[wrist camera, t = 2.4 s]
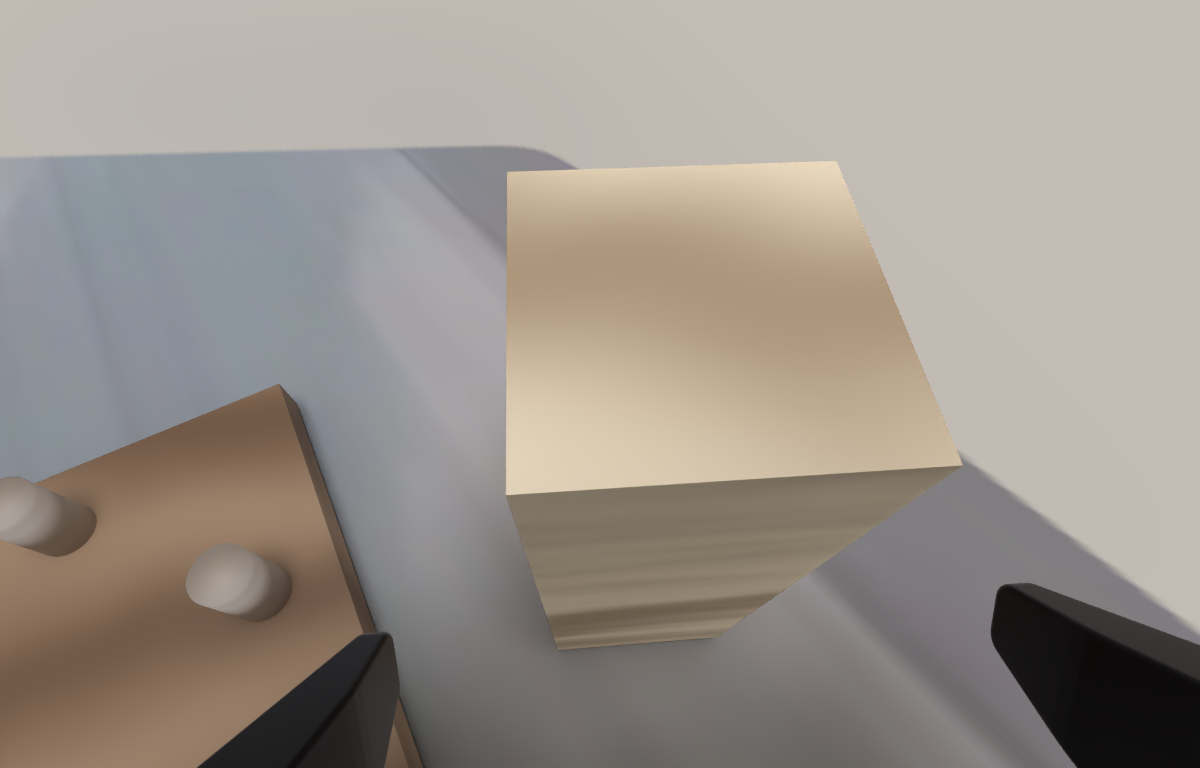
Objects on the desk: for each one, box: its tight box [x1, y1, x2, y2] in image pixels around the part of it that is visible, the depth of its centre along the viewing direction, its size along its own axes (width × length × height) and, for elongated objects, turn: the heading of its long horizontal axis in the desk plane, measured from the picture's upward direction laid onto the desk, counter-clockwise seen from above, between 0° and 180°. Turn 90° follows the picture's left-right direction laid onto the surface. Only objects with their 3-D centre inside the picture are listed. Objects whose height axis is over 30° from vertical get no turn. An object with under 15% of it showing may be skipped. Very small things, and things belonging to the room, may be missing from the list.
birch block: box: [506, 161, 963, 650], centre depth 14 cm, size 5×5×14 cm
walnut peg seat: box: [0, 384, 423, 768], centre depth 16 cm, size 14×14×4 cm
